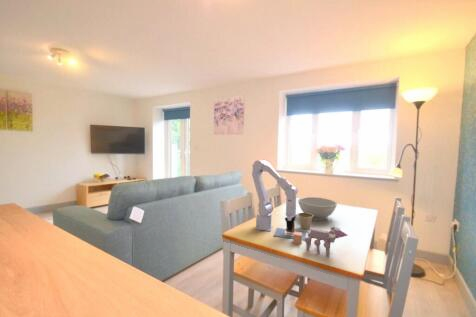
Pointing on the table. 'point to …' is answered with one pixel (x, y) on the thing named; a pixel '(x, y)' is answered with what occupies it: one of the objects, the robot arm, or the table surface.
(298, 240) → the terracotta block
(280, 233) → the board
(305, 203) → the decorative bowl
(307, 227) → the flower pot
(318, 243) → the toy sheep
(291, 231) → the walnut block
